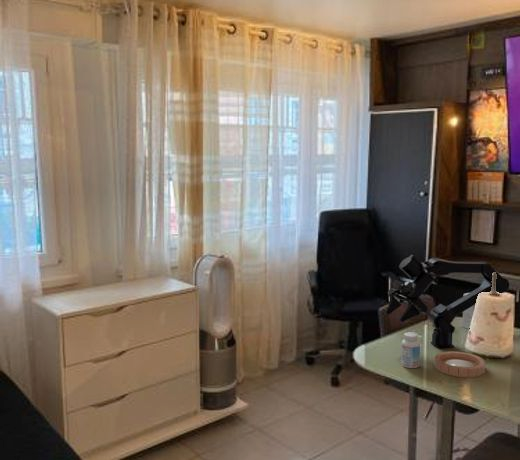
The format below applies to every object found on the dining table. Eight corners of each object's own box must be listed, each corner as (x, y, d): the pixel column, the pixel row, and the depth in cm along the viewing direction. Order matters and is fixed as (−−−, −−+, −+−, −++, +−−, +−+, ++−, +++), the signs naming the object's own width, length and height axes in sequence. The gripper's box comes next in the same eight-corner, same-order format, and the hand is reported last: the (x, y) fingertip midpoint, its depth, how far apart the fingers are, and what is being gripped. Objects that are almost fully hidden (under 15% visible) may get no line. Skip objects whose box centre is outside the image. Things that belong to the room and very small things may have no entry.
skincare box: (475, 324, 229) (476, 290, 227) (487, 328, 224) (488, 293, 222) (461, 327, 226) (462, 293, 224) (472, 331, 220) (473, 296, 218)
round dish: (466, 357, 192) (467, 349, 192) (494, 374, 177) (494, 366, 177) (426, 361, 189) (426, 353, 189) (450, 379, 174) (451, 371, 173)
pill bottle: (417, 362, 189) (418, 331, 187) (421, 368, 183) (421, 337, 181) (400, 361, 189) (400, 331, 188) (403, 368, 183) (403, 337, 182)
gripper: (392, 267, 206) (367, 298, 204) (421, 277, 189) (394, 311, 187) (409, 285, 210) (384, 315, 208) (439, 296, 193) (413, 330, 190)
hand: (393, 317), depth 198 cm, fingers open, 9 cm apart
